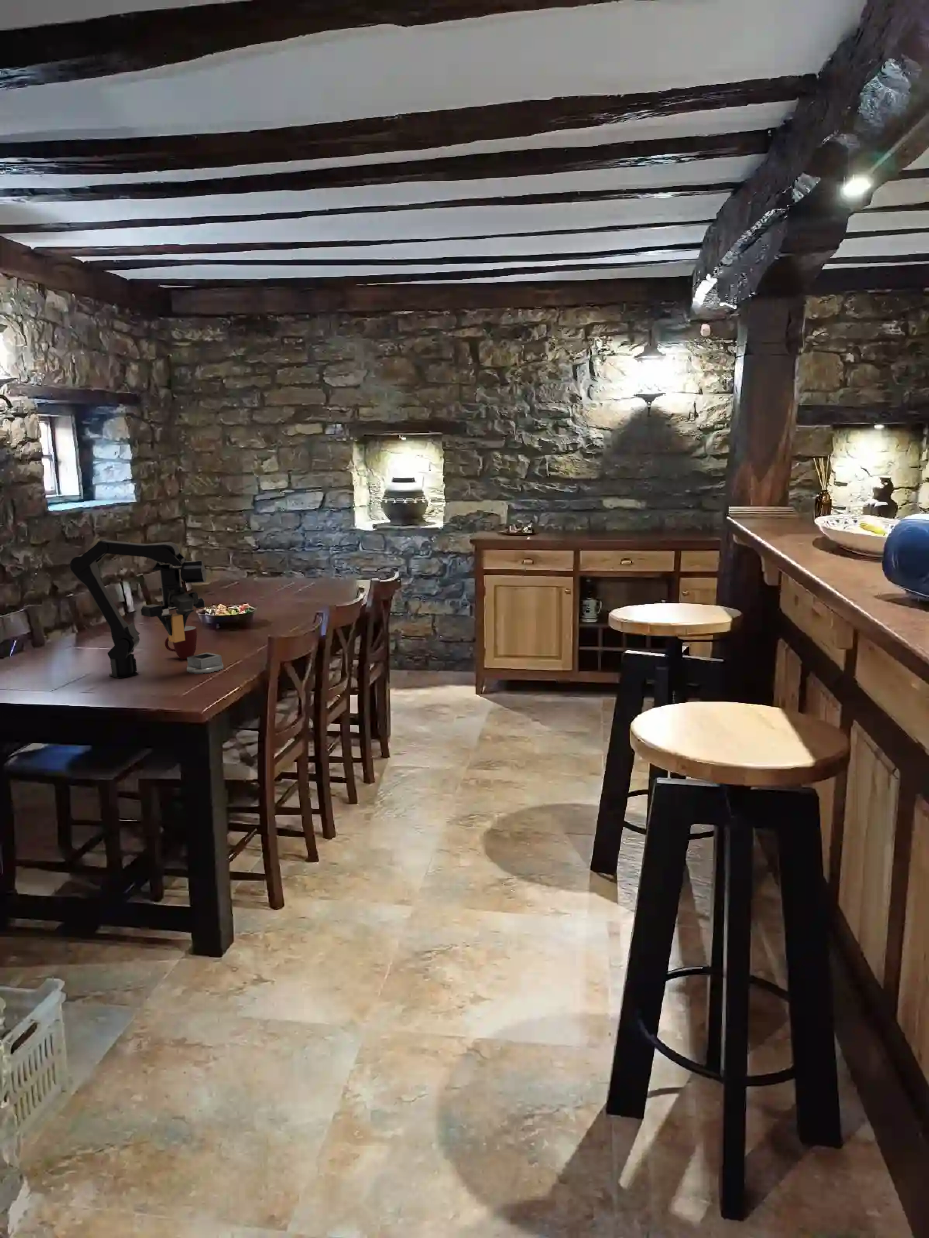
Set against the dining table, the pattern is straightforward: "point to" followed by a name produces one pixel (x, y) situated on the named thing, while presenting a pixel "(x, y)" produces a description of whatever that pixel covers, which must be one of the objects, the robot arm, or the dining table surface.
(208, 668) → the silver square frame
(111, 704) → the dining table surface
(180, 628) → the orange-brown rectangular block
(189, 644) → the mug
